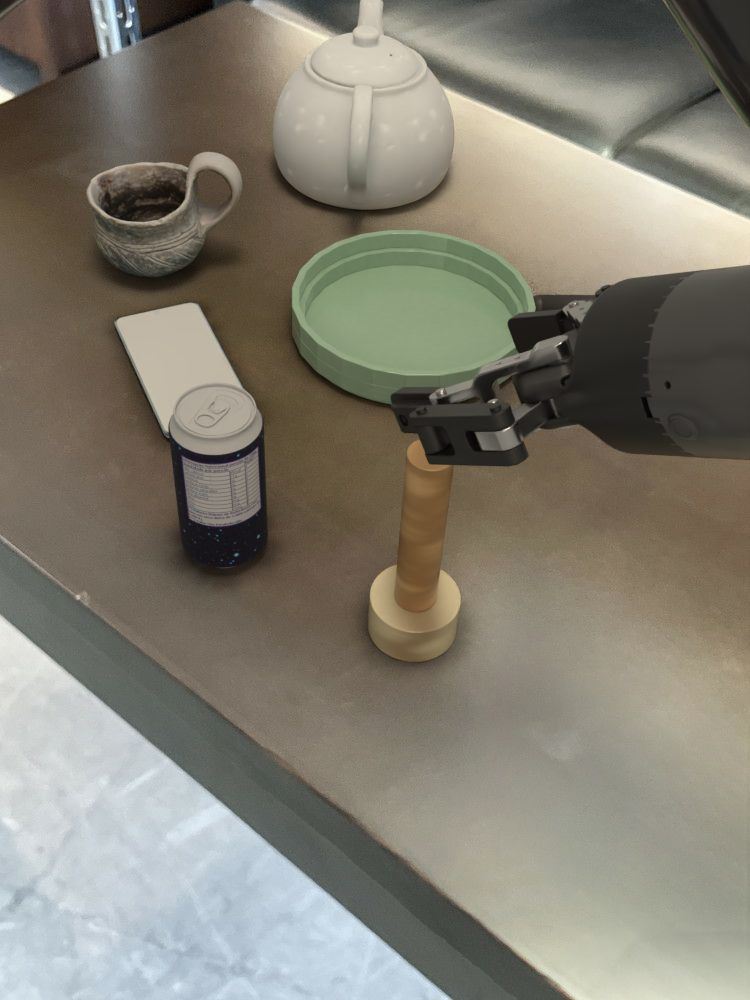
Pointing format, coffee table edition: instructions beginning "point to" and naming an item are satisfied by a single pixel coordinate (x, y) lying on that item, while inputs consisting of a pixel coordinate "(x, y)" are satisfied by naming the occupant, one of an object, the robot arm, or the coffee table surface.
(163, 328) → the smartphone
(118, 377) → the coffee table surface
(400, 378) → the pan
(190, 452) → the beverage can
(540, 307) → the pan handle
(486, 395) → the robot arm
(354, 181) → the teapot
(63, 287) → the coffee table surface
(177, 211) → the mug
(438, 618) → the brush
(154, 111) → the coffee table surface
